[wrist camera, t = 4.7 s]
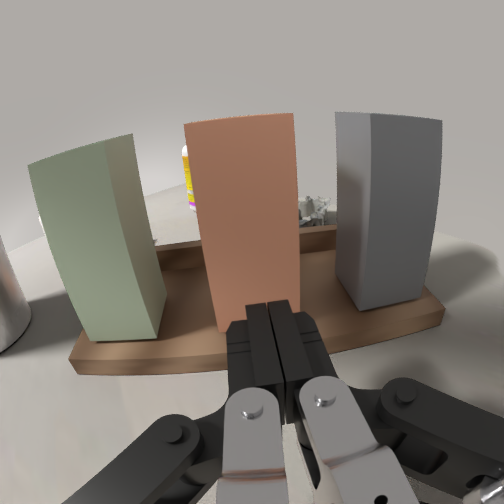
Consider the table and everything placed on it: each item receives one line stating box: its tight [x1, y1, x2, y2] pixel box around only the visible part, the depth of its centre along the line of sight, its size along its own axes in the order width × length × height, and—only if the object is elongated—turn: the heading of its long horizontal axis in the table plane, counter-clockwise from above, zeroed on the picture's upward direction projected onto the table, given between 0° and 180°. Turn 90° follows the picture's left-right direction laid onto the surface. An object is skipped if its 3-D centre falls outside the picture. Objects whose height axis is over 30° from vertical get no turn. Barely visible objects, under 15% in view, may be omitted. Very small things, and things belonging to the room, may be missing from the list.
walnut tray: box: [68, 224, 446, 375], centre depth 22 cm, size 26×12×4 cm, turn 96°
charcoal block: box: [335, 112, 442, 311], centre depth 18 cm, size 5×5×12 cm
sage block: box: [28, 134, 167, 341], centre depth 17 cm, size 5×5×12 cm
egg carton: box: [298, 196, 331, 228], centre depth 35 cm, size 11×8×4 cm
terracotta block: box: [184, 113, 300, 333], centre depth 17 cm, size 5×5×12 cm
